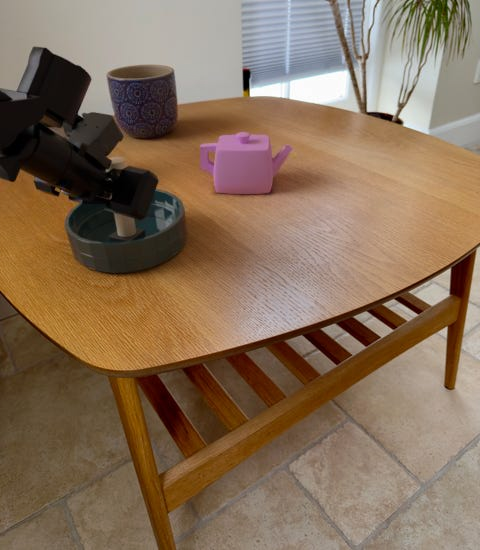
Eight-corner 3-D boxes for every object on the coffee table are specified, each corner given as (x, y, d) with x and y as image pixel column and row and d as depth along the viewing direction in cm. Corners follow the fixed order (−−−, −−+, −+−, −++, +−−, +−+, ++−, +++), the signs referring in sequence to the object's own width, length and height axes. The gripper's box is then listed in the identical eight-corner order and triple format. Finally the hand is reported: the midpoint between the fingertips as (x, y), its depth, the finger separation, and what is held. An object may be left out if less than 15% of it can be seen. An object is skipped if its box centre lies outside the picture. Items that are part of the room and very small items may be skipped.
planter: (104, 136, 113) (91, 74, 104) (146, 119, 124) (138, 62, 115) (152, 147, 106) (143, 82, 97) (193, 127, 117) (187, 67, 108)
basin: (139, 289, 61) (132, 257, 58) (49, 256, 68) (38, 226, 65) (208, 229, 74) (205, 200, 70) (125, 207, 81) (120, 179, 78)
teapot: (289, 173, 91) (292, 124, 85) (291, 195, 83) (294, 143, 77) (205, 173, 92) (201, 124, 86) (198, 195, 84) (193, 143, 78)
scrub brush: (133, 255, 66) (118, 166, 59) (111, 250, 68) (94, 162, 60) (146, 243, 69) (135, 157, 62) (125, 239, 71) (111, 154, 63)
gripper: (136, 106, 49) (198, 165, 63) (24, 89, 56) (103, 145, 70) (101, 198, 48) (173, 237, 62) (-7, 169, 55) (79, 209, 70)
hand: (130, 203), depth 66 cm, fingers closed on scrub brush, 3 cm apart
